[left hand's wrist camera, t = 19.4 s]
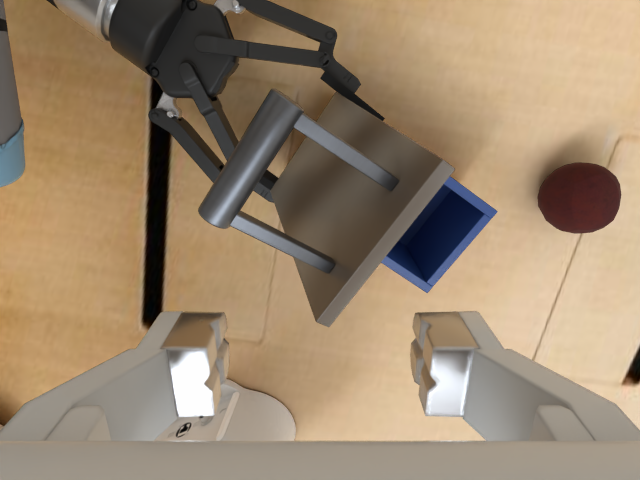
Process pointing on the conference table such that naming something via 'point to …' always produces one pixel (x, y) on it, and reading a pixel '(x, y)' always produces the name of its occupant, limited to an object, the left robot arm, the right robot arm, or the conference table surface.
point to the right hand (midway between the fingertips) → (344, 166)
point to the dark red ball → (580, 197)
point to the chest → (439, 235)
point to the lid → (328, 193)
